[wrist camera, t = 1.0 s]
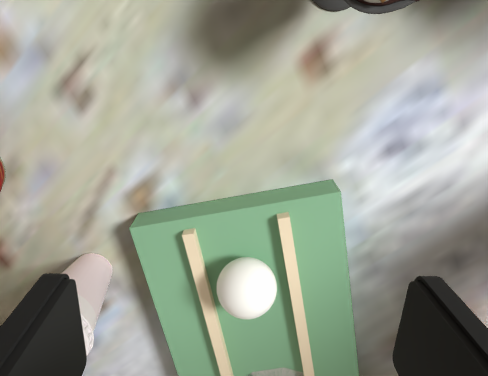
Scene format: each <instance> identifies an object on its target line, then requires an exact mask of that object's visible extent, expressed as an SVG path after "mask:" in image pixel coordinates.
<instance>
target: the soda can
mask: <svg viewBox="0 0 488 376" xmlns="http://www.w3.org/2000/svg"><path fill="white" fill-rule="evenodd" d="M5 176H6V173H5V166H4V164H3V161H2V160H1V158H0V191H1V189H2V186H3V184H4V181H5Z"/></svg>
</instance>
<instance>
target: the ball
mask: <svg viewBox="0 0 488 376" xmlns="http://www.w3.org/2000/svg"><path fill="white" fill-rule="evenodd" d="M276 293H277V283H276V279H275V276H274V274H273V272H272V270H271V269H270V268H269V267H268V266H267V265H266V264H265V263H264V262H262V261H260V260H258V259H256V258H252V257H241V258H238V259H235V260H233V261H231V262H230V263H228V264H227V265H226V266H225V267H224V268H223V270H222V271H221V273H220V275H219V277H218V280H217V296H218V299H219V302H220V304H221V305H222V307H223V308H224V309H225V310H226V311H227V312H228V313H229V314H230V315H232V316H234V317H236V318H239V319H255V318H258V317H260V316H262V315H263V314H265V313H266V312H267V311H268V310H269V309H270V307H271V306H272V305H273V303H274V300H275V298H276Z"/></svg>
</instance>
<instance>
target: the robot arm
mask: <svg viewBox="0 0 488 376" xmlns="http://www.w3.org/2000/svg"><path fill="white" fill-rule="evenodd" d="M86 359H87V355H86V348H85V341H84V334H83V327H82V321H81V314H80V307H79V300H78V293H77V287H76V282H75V280H74V279H70V278H69V276H68V275H67V274H43V275H42V276H41V277H40V278H39V280H38V281H37V282H36V283H35V285H34V286H33V287H32V288H31V290H30V291H29V292H28V293H27V295H26V296H25V297H24V298H23V300H22V301H21V302H20V303H19V305H18V306H17V307H16V308H15V310H14V311H13V312H12V313H11V315H10V316H9V317H8V318H7V320H6V321H5V322H4V323H3V325H1V326H0V376H82V374H83V371H84V369H85V365H86ZM393 363H394V366H395V369H396V371H397V373H398V375H399V376H488V328H487V327H486V326H485V325H484V324H483V323H482V322H481V321H480V320H479V319H478V318H477V316H476V315H475V314H474V313H473V312H472V311H471V310H470V309H469V308H468V307H467V306H466V304H465V303H464V302H463V301H462V300H461V299H460V298H459V297H458V296H457V295H456V294H455V292H454V291H453V290H452V289H451V288H450V287H449V286H448V285H447V284H446V283H445V282H444V280H443V279H441V278H440V277H437V276H419V277H417V278H416V279H415V281H412V282H410V284H409V287H408V291H407V295H406V299H405V304H404V308H403V312H402V317H401V321H400V325H399V329H398V334H397V338H396V342H395V347H394V351H393Z"/></svg>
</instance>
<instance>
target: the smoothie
mask: <svg viewBox="0 0 488 376" xmlns="http://www.w3.org/2000/svg"><path fill="white" fill-rule="evenodd" d="M112 273H113V270H112V266H111V264H110V262H109V261H108V260H107V259H106V258H105V257H103V256H101V255H99V254H95V253H87V254H83V255H81V256H80V257H79V258H78V259H77V260H75V261H74V262H73V263H72V264H71V265H70V266H69V267H68V268H67V269H66V270H64V271H63V272H62V273H61V274H67V275H68V276H69V278H70V279H74V280H75V282H76V287H77V293H78V300H79V307H80V314H81V321H82V327H83V334H84V341H85V348H86V355H88V354H89V352H90V350H91V349H92V347H93V342H94V335H93V331H94V329H95V326H96V322H97V319H98V316H99V313H100V310H101V307H102V304H103V301H104V298H105V295H106V292H107V289H108V286H109V283H110V280H111V277H112Z"/></svg>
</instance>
